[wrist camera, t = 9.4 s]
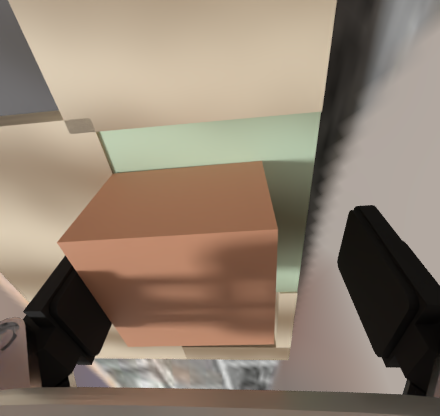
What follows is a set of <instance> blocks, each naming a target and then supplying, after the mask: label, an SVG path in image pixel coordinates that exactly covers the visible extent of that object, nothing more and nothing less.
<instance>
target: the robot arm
mask: <svg viewBox="0 0 440 416" xmlns="http://www.w3.org/2000/svg"><path fill="white" fill-rule="evenodd" d="M337 263H338V268H339V270H340V273H341V275H342V277H343V280H344V282H345V284H346V287H347V289H348V291H349V294H350V296H351V299H352V301H353V303H354V306H355V308H356V310H357V313H358V315H359V317H360V320H361V322H362V324H363V327H364V329H365V331H366V333H367V336H368V338H369V340H370V343H371V345H372V348H373V350H374V352H375V354H376V355H377V356H378V357H382V359H383V361H384V363H385V366H386V367H400V368H401V370H402V372H403V374H404V376H405V378H407V381H406V385H405V388H404V391H403V394H402V395H401V394H377V393H353V392H351V393H350V392H316V391H313V392H312V391H275V390H227V389H174V388H106V387H77V386H76V382H75V377H74V373H73V370H74V368H75V366H76V364H78V365H92V363H93V360H94V358H95V356H97V355H98V354H99V353H100V351H101V349H102V347H103V344H104V342H105V340H106V337H107V335H108V332H109V330H110V328H111V325H112V323H111V321H110V320H109V318H108V317H107V315H106V314H105V312H104V311H103V310H102V308H101V307H100V305H99V304H98V302H97V301H96V299H95V298H94V296H93V295H92V293H91V292H90V291H89V289H88V288H87V286H86V285H85V283H84V282H83V280H82V279H81V277H80V276H79V274H78V273H77V272H76V270H75V269H74V267H73V266H72V264H71V263H70V261H69V260H68V258H67V257H66V255H65V256H64V258H63V259H62V260H61V262H60V263H59V264H58V266H57V267H56V268H55V270H54V271H53V272H52V274H51V275H50V276H49V278H48V279H47V280H46V282H45V283H44V284H43V286H42V287H41V288H40V290H39V291H38V292H37V294H36V295H35V296H34V298H33V299H32V300H31V302H30V303H29V304H28V306H27V307H26V308H25V310H24V311H23V312H24V313H25V314H26V316H25V318H24V319H21V318H19V317H12V318H7V319H4V320H2V321H0V416H440V285H439V284H438V283H437V282H436V281H435V279H434V278H433V277H432V275H431V274H430V273H429V272H428V271H427V269H426V268H425V267H424V265H423V264H422V263H421V261H420V260H419V259H418V258H417V257H416V255H415V254H414V253H413V251H412V250H411V249H410V248H409V246H408V245H407V244H406V243H405V242H404V241H402V240H401V239H400V237H399V236H398V235H397V234H396V232H395V231H394V230H393V228H392V227H391V226H390V225H389V223H388V222H387V221H386V220H385V218H384V217H383V216H382V214H381V213H380V212H379V210H378V209H377V208H376V207H375V206H373V205H370V206H369V205H368V206H356V207H355V208H354V210H351V211H350V212H349V215H348V219H347V223H346V227H345V231H344V235H343V240H342V244H341V248H340V252H339V256H338V261H337Z"/></svg>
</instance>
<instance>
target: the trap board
mask: <svg viewBox="0 0 440 416" xmlns="http://www.w3.org/2000/svg"><path fill="white" fill-rule="evenodd" d="M336 3H337V0H0V272H1V273H2V274H3V275H4V276H5V278H6V279H7V280H8V281H9V282H10V283H11V284H12V285H13V286H14V287H15V288H16V289H17V290H18V291H19V292H20V293H21V294H22V295H23V297H24V298H25V299H26V300H27V301H28V302H29V303H30V302H31V300H32V299H33V298H34V296H35V295H36V294H37V292H38V291H39V290H40V288H41V287H42V286H43V284H44V283H45V282H46V280H47V279H48V278H49V276H50V275H51V274H52V272H53V271H54V270H55V268H56V267H57V266H58V264H59V263H60V262H61V260H62V259H63V258H64V256H65V254H64V253H63V251H62V250H61V248H60V247H59V245H58V244H57V242H58V240H59V239H60V238H61V237H62V235H63V234H64V233H65V232H66V231H67V229H68V228H69V227H70V226H71V224H72V223H73V222H74V221H75V219H76V218H77V217H78V216H79V215H80V213H81V212H82V211H83V210H84V208H85V207H86V206H87V205H88V204H89V202H90V201H91V200H92V199H93V197H94V196H95V195H96V194H97V192H98V191H99V190H100V189H101V188H102V186H103V185H104V184H105V183H106V181H107V180H108V179H109V178H110V176H111V175H112V174H114V173H125V172H137V171H149V170H160V169H172V168H183V167H195V166H207V165H218V164H230V163H242V162H253V161H262V164H263V168H264V172H265V176H266V180H267V185H268V189H269V193H270V197H271V202H272V206H273V210H274V214H275V219H276V223H277V227H278V245H277V274H276V302H275V331H274V344H268V345H209V346H151V347H128V346H127V345H126V343H125V342H124V340H123V339H122V337H121V336H120V334H119V333H118V331H117V330H116V329H115V327H114V326H113V324H112V325H111V328H110V330H109V332H108V335H107V337H106V340H105V342H104V344H103V347H102V349H101V351H100V353H99V354H98V355H97V356H95V358H123V359H232V360H289V354H290V346H291V339H292V332H293V324H294V317H295V309H296V302H297V294H298V293H297V290H298V282H299V275H300V267H301V260H302V252H303V244H304V237H305V229H306V222H307V214H308V207H309V199H310V191H311V184H312V176H313V169H314V161H315V153H316V146H317V138H318V131H319V123H320V115H321V112H322V108H323V100H324V93H325V85H326V78H327V70H328V63H329V55H330V48H331V40H332V33H333V25H334V18H335V10H336Z"/></svg>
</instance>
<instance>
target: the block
mask: <svg viewBox="0 0 440 416" xmlns="http://www.w3.org/2000/svg"><path fill="white" fill-rule="evenodd" d="M57 244H58V245H59V247H60V248H61V250H62V251H63V253H64V254H65V255H66V257H67V258H68V260H69V261H70V263H71V264H72V266H73V267H74V269H75V270H76V272H77V273H78V274H79V276H80V277H81V279H82V280H83V282H84V283H85V285H86V286H87V288H88V289H89V291H90V292H91V293H92V295H93V296H94V298H95V299H96V301H97V302H98V304H99V305H100V307H101V308H102V310H103V311H104V312H105V314H106V315H107V317H108V318H109V320H110V321H111V323H112V324H113V326H114V327H115V329H116V330H117V331H118V333H119V334H120V336H121V337H122V339H123V340H124V342H125V343H126V345H127V346H128V347H151V346H209V345H268V344H274V331H275V302H276V274H277V245H278V227H277V223H276V219H275V214H274V210H273V206H272V202H271V197H270V193H269V189H268V185H267V180H266V176H265V172H264V168H263V164H262V161H253V162H242V163H230V164H218V165H207V166H195V167H183V168H172V169H160V170H149V171H137V172H125V173H114V174H112V175H111V176H110V178H109V179H108V180H107V181H106V183H105V184H104V185H103V186H102V188H101V189H100V190H99V191H98V192H97V194H96V195H95V196H94V197H93V199H92V200H91V201H90V202H89V204H88V205H87V206H86V207H85V208H84V210H83V211H82V212H81V213H80V215H79V216H78V217H77V218H76V219H75V221H74V222H73V223H72V224H71V226H70V227H69V228H68V229H67V231H66V232H65V233H64V234H63V235H62V237H61V238H60V239H59V240H58V242H57Z"/></svg>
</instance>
